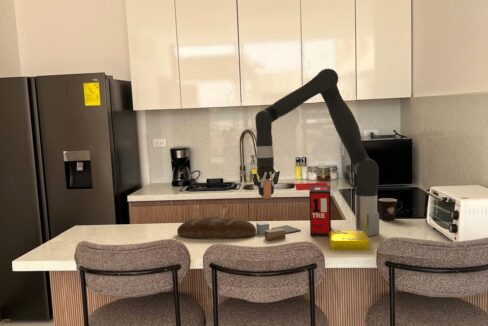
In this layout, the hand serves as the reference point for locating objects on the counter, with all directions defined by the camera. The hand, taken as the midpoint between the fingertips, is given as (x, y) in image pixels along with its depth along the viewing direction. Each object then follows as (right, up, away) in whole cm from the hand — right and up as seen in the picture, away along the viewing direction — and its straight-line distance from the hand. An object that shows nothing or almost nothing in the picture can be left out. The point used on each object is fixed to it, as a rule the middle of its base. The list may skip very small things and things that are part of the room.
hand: (266, 194), depth 183 cm
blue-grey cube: (-1, -18, +7) cm, 19 cm away
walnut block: (+4, -19, -3) cm, 20 cm away
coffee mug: (+63, -14, +23) cm, 69 cm away
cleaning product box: (+25, -18, +5) cm, 31 cm away
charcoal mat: (+10, -17, +10) cm, 22 cm away
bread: (-22, -19, +6) cm, 30 cm away
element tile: (+32, -20, -16) cm, 41 cm away
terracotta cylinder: (0, -1, 0) cm, 1 cm away
